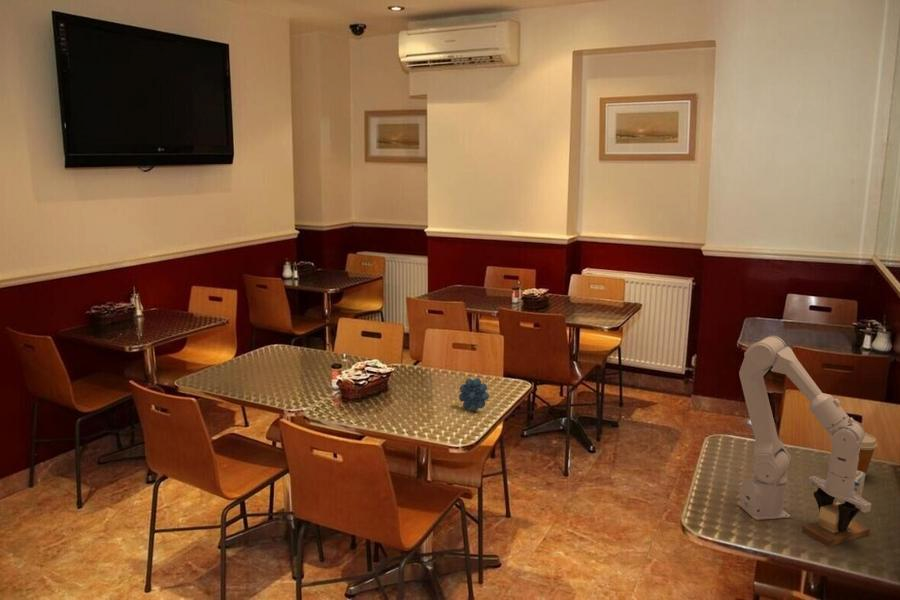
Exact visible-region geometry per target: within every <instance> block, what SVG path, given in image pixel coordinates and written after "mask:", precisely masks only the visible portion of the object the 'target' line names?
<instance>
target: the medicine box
mask: <svg viewBox="0 0 900 600" xmlns="http://www.w3.org/2000/svg"><path fill="white" fill-rule="evenodd" d="M865 478H866V475H865V473H864V472H861V471H858V470H857V473H856V479H855V485H854V492H855V493H856V494H857V495H859V496H860V497H861V498H862V494H863V490H864V485H865V480H866V479H865ZM837 502H838V503H840V504H843V503H845V501H843V500H841V499H838V498H836V501H835V503H837Z"/></svg>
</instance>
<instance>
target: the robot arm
mask: <svg viewBox="0 0 900 600" xmlns="http://www.w3.org/2000/svg"><path fill="white" fill-rule="evenodd" d="M743 353H744V355H743V356H744V358H743V361H742V363H741V365H740V369H739V372H738V374H739V375H738V376H739V379H740V384H741V389H742V392H743V397H744V401H745V404H746V409H747V411H748V417H749V422H750V424H751V429H752V433H753V437H754V442H755V445H754V450H753V457H754V463H753V466H752V470H753V473H754V475H753V476H751V477H748V478H744V480H743V482H742V484H741V492H740V499H739V500H740V501H738V502H737V504H738V506H739V507H741V508H742V509H743V510H744V511H745V512H746V513H747V514H748V515H750V516H751V517H752V519H754V520H756V521H757V520H760V521H761V520H771V519H772V520H773V519H774V520H775V519H787V518H791V515H790V514H789V513H788V512H786V511H785V509H784V503H785V497H786V495H785V494H786V488H787V481H788V478H787V475H786V472H787V471H788V470H790V468H791V467H792V458H791V455H790V454H789V452H788V451H787V450H786V448H785V444H784V443H783V441H782V440H781V439H780V438H779V436H778V432H777V427H776V423H775V420H774V419H775V418H774V417H773V416H774V415H773V411H772V406H771V404H770V399H769V395H768V392H767V388H766V386H767V385H766V382H765V378H764V376H765V375H766V373H768V371H769V370H770V371H771V372H773V373H778V374H783V375H786V377H787V378H788V379H789V380H790V381H791V382H792V383H793V384H794V385H795V387H797V389H798V390H799V391H800V393H802V394H803V395H804V397H805V398H806V399H807V400H808V401H809V406H808V410H809V411H811V413H812V415H814V416H815V418H816V419H817V420H818V421H819V423H820V424H821V425H822V426H823V428H824V429H825V431H826V432H827V433H829V434H830V436H829V440H830V443H831V445H832V446H831V451H830V455H829V462H828V468H827V474H826V479H824V478H820V477H819V476H816V475H814V476H813V475H812V476H809V477H808V483H807V485H809V486H810V487H815V488H817V490H816V491H813V497H814V498H815V501H816V504H817V507H818V511H819V513H820V507H822V506H826V505H830V504H833V503H835V502H834V501H835V499H837V498H838V499H841V500H843V501H845V503H843V504H839V505H838V509H839V523H838V531H840V532H843V531H846V530H847V528H848V526H849V524H850V522H851V520H854V517H855V516H856V515H857V514H858V512H862V513H864V514H866V513H870V512H871V507H872V503H871V502H868V500H866V499H865V498H863V497H862V496H861V497H860V496H859V495H857V494H856V493H855V492H854V485H855V479H856V473H857V467H858V461H859V453H860V446H859V445H860V443H861V442H862V441H863V439H864V437H865V433H866V432H865V429H864V428H863V425H862V424H861V423H860V422H859V421H856V420H855V419H854V418H853V417H852V416H851V417H850V416H849V415H848V414H847V412H846V411H845V410H844V409H843V408H842V407H841V405H840V403H841V402H840V399H838V397H836V398H834V397H833V396H832V395H831V394H827V393H824V392H822V390H821V389H820V388H819V386H818V385H817V384H816V382H815V380H813V378H812V377H811V376H810V375H809V373H808V372H807V370H806V368H805V367H804V366H803V364H802V363H801V362H800V361H799V359H798V358H797V356H796V355H795V353H794V352H793V349H792V348H791V347H790V346H787V344H786V342H785V340H783V339H782V338H781V337H779V336H777V335H768V336H766V337H764V338H762V340H760V341H758V342H755V343H753V344H751V345H750V346H749V347H748V349H747V350H745V351H744V352H743Z"/></svg>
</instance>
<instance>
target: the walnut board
mask: <svg viewBox="0 0 900 600" xmlns="http://www.w3.org/2000/svg"><path fill="white" fill-rule="evenodd" d="M801 529H802V530H801V532H803V534H805V535H807V536H809V537H811V538H812V539H814V540H816V541H817V542H818V543H820V544H822V545H824V546H825V547H827V548H830V547H833V546H837V545H840V544H843V543H847V542H849V541H853V540H856V539H859V538H862V537H863V538H864V537H867V536H869V535H870V533H871V528H869V527H867V526H865V525H864V524H862V523H860V522H858V521H856V520H854V519H852V522H851V528H850V530H847V531H844V532H840V533H837V534H834V535H832V534H831V533H829V532H827V531H825V530H823V529H822V528H820V527H818V521H815V522H812V523H809V524H805V525H803V526H802V528H801Z"/></svg>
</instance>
